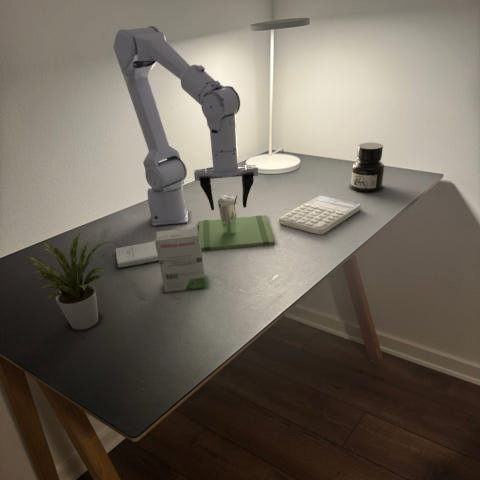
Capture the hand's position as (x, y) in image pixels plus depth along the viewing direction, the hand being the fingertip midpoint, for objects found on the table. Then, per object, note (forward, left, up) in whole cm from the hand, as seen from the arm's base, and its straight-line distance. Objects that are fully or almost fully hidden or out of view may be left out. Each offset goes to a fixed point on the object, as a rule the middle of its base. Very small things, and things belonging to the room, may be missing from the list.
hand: (228, 207), depth 107 cm
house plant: (-29, -31, -8) cm, 43 cm away
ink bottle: (+42, +25, -8) cm, 49 cm away
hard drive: (-21, -7, -8) cm, 23 cm away
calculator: (+24, +7, -8) cm, 26 cm away
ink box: (-11, -22, -8) cm, 26 cm away
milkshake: (0, 0, -7) cm, 7 cm away
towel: (+1, +1, -7) cm, 8 cm away
